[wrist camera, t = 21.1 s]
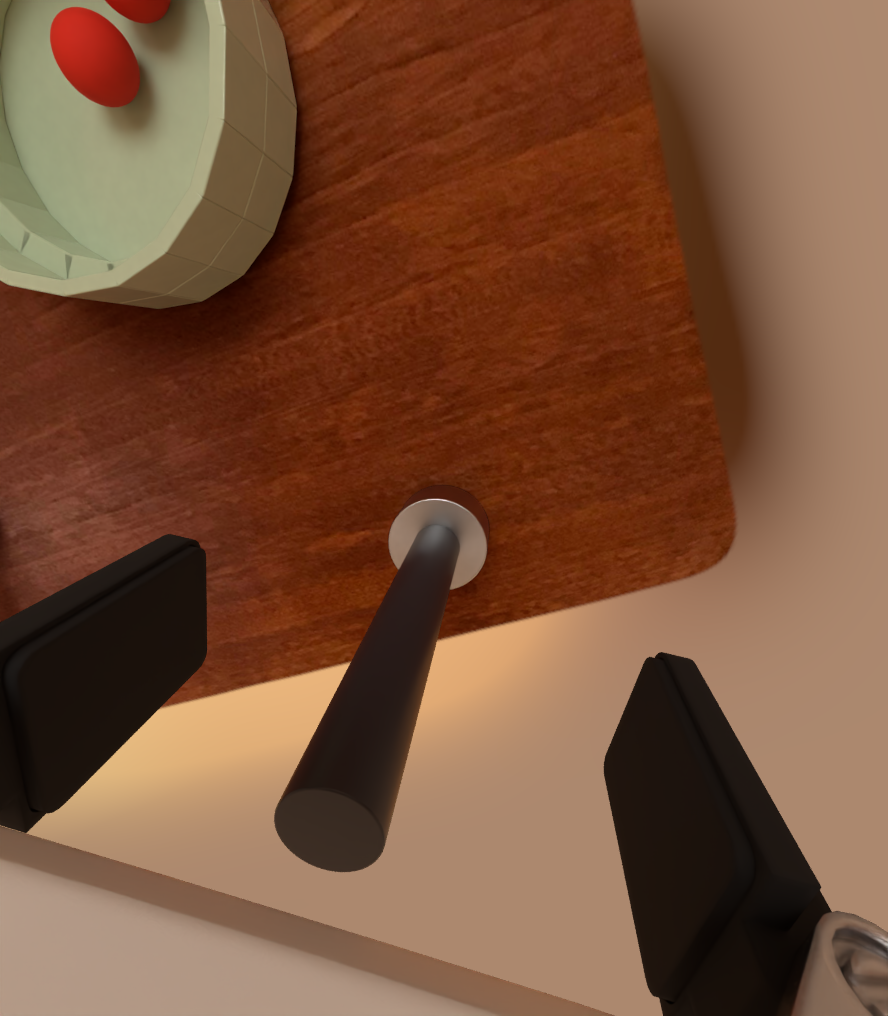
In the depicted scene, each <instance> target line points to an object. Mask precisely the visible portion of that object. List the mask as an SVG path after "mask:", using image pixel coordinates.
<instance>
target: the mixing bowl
mask: <svg viewBox="0 0 888 1016" xmlns="http://www.w3.org/2000/svg"><path fill="white" fill-rule="evenodd" d="M69 7H83V8H87V9H90V10H92V11H95V12H97V13H99V14H100V15H102V16H103V17H105V18H106V19H108V20H109V21H110V22H111V23H112V24H113V25H115V26H116V28H117V29H118V30H119V31H120V32H121V33H122V34H123V36H124V37H125V38H126V40H127V41H128V43H129V44H130V46H131V48H132V50H133V52H134V54H135V57H136V59H137V62H138V66H139V72H140V85H139V90H138V92H137V95H136V96H135V98H134V99H133V100H132V101H131V102H130V103H129V104H127V105H125V106H122V107H106V106H103V105H99V104H97V103H95V102H93V101H91V100H89V99H88V98H86V97H85V96H83V95H82V94H81V93H80V92H78V91H77V90H76V89H75V88H74V87H73V86H72V85H71V84H70V82H69V81H68V80H67V79H66V77H65V76H64V74H63V73H62V71H61V70H60V68H59V66H58V64H57V62H56V60H55V58H54V55H53V52H52V48H51V43H50V29H51V24H52V22H53V19H54V18H55V16H56V15H57V14H58V13H59V12H60V11H62V10H64V9H66V8H69ZM296 108H297V105H296V100H295V94H294V89H293V84H292V78H291V73H290V67H289V62H288V57H287V51H286V46H285V41H284V36H283V33H282V31H281V28H280V26H279V24H278V22H277V20H276V17H275V15H274V13H273V11H272V9H271V6H270V4H269V2H268V0H171V2H170V6H169V8H168V10H167V12H166V13H165V15H164V16H163V17H162V18H161V19H160V20H158V21H156V22H153V23H148V24H145V23H138V22H134V21H132V20H129V19H127V18H125V17H124V16H122V15H121V14H119V13H118V12H116V11H115V10H114V9H113V8H112V7H111V6H110V5H109V4H108V3H107V2H106V1H105V0H0V281H2V282H4V283H6V284H8V285H10V286H15V287H20V288H25V289H30V290H35V291H40V292H45V293H50V294H55V295H60V296H65V297H72V298H80V299H87V300H95V301H102V302H110V303H118V304H125V305H133V306H140V307H148V308H155V309H162V308H168V307H174V306H179V305H185V304H191V303H196V302H202V301H203V300H206V299H207V298H209V297H210V296H212V295H213V294H215V293H217V292H218V291H220V290H221V289H223V288H224V287H226V286H228V285H229V284H231V283H232V282H234V281H235V280H237V279H239V278H240V277H241V276H243V275H244V274H245V273H246V271H247V270H248V269H249V267H250V266H251V265H252V263H253V262H254V260H255V259H256V258H257V256H258V255H259V254H260V252H261V251H262V250H263V248H264V247H265V246H266V244H267V243H268V242H269V240H270V239H271V238H272V236H273V233H274V232H275V229H276V226H277V223H278V220H279V217H280V214H281V211H282V208H283V206H284V203H285V200H286V197H287V194H288V191H289V188H290V185H291V182H292V176H293V169H294V152H295V135H296V118H297V109H296Z"/></svg>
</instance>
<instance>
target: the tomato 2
mask: <svg viewBox="0 0 888 1016" xmlns="http://www.w3.org/2000/svg"><path fill="white" fill-rule="evenodd" d="M105 1H106V2H107V3H108V4H109V5H110V6H111V7H112V8H113V9H114V10H115V11H116V12H118V13H119V14H121V15H122V16H124V17H125V18H127V19H129V20H132V21H134V22H138V23H145V24H148V23H153V22H156V21H158V20H160V19H161V18H162V17H163V16H164V15H165V13H166V12H167V10H168V8H169V6H170V2H171V0H105Z"/></svg>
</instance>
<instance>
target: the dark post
mask: <svg viewBox="0 0 888 1016" xmlns="http://www.w3.org/2000/svg"><path fill="white" fill-rule="evenodd" d="M488 539H489V522H488V518H487V515H486V513H485V511H484V509H483V507H482V506H481V504H480V503H479V502H478V501H477V500H476V499H475V498H474V497H473V496H472V495H471V494H469V493H468V492H466V491H464V490H462V489H460V488H457V487H454V486H448V485H435V486H430V487H427V488H424V489H422V490H420V491H418V492H417V493H415V494H414V495H413V496H412V497H411V498H410V499H409V500H408V501H407V502H406V504H405V505H404V506H403V508H402V509H401V511H400V512H399V514H398V515H397V516H396V518H395V520H394V521H393V523H392V526H391V528H390V532H389V539H388V543H389V551H390V555H391V558H392V560H393V562H394V564H395V566H396V567H397V569H398V572H397V574H396V576H395V578H394V580H393V582H392V584H391V586H390V588H389V590H388V592H387V594H386V596H385V597H384V599H383V601H382V603H381V605H380V607H379V609H378V611H377V613H376V615H375V617H374V619H373V621H372V623H371V625H370V626H369V628H368V630H367V632H366V634H365V636H364V638H363V640H362V642H361V644H360V646H359V648H358V650H357V652H356V654H355V656H354V657H353V659H352V661H351V663H350V665H349V667H348V669H347V671H346V673H345V675H344V677H343V679H342V681H341V683H340V685H339V687H338V688H337V691H336V692H335V694H334V696H333V698H332V700H331V702H330V704H329V706H328V708H327V710H326V712H325V714H324V716H323V718H322V719H321V721H320V723H319V725H318V727H317V729H316V731H315V733H314V735H313V737H312V739H311V741H310V743H309V745H308V747H307V749H306V751H305V752H304V754H303V756H302V758H301V760H300V762H299V764H298V766H297V768H296V770H295V772H294V774H293V776H292V778H291V780H290V781H289V784H288V785H287V787H286V789H285V791H284V793H283V795H282V797H281V799H280V801H279V803H278V805H277V807H276V810H275V817H274V822H275V827H276V831H277V833H278V835H279V837H280V839H281V840H282V842H283V843H284V844H285V846H286V847H287V848H288V849H289V850H290V851H291V852H292V853H293V854H295V855H296V856H297V857H299V858H300V859H302V860H304V861H305V862H307V863H309V864H311V865H313V866H316V867H318V868H321V869H325V870H329V871H335V872H351V871H357V870H361V869H364V868H366V867H368V866H370V865H371V864H373V863H374V862H375V861H376V860H377V859H378V858H379V857H380V855H381V853H382V852H383V849H384V846H385V842H386V838H387V834H388V831H389V827H390V823H391V819H392V815H393V811H394V807H395V803H396V799H397V795H398V791H399V787H400V784H401V780H402V776H403V772H404V768H405V764H406V760H407V756H408V752H409V748H410V744H411V740H412V736H413V732H414V728H415V725H416V720H417V717H418V713H419V709H420V705H421V701H422V697H423V693H424V689H425V685H426V681H427V677H428V673H429V670H430V665H431V661H432V658H433V654H434V650H435V646H436V642H437V638H438V634H439V630H440V626H441V622H442V618H443V615H444V611H445V607H446V603H447V599H448V595H449V591H450V590H451V589H455V588H458V587H460V586H463V585H465V584H466V583H468V582H469V581H471V580H472V579H473V578H474V577H475V576H476V575H477V574H478V573H479V571H480V570H481V568H482V566H483V564H484V562H485V559H486V555H487V548H488Z"/></svg>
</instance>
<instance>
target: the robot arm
mask: <svg viewBox="0 0 888 1016" xmlns="http://www.w3.org/2000/svg"><path fill="white" fill-rule="evenodd" d="M206 654H207V601H206V553H205V551H204V550H203V549H201V548H200V545H199V543H198V542H197V541H196V540H193V539H189V538H184V537H180V536H176V535H171V534H167V535H164V536H162V537H160V538H159V539H157V540H155V541H153V542H151V543H149V544H147V545H145V546H143V547H142V548H140V549H138V550H136V551H134V552H132V553H130V554H128V555H127V556H125V557H123V558H121V559H119V560H117V561H115V562H113V563H111V564H110V565H108V566H106V567H104V568H102V569H100V570H98V571H96V572H94V573H93V574H91V575H89V576H87V577H85V578H83V579H81V580H79V581H77V582H76V583H74V584H72V585H70V586H68V587H66V588H64V589H62V590H60V591H59V592H57V593H55V594H53V595H51V596H49V597H47V598H45V599H44V600H42V601H40V602H38V603H36V604H34V605H32V606H30V607H28V608H27V609H25V610H23V611H21V612H19V613H17V614H15V615H13V616H11V617H10V618H8V619H6V620H4V621H2V622H0V825H1V826H0V1016H614V1015H611V1014H608V1013H605V1012H602V1011H599V1010H596V1009H593V1008H590V1007H587V1006H584V1005H581V1004H578V1003H575V1002H572V1001H568V1000H566V999H562V998H559V997H556V996H553V995H550V994H547V993H543V992H540V991H537V990H534V989H530V988H527V987H524V986H521V985H518V984H515V983H511V982H508V981H505V980H502V979H499V978H495V977H492V976H489V975H486V974H483V973H480V972H476V971H473V970H470V969H467V968H464V967H460V966H457V965H454V964H451V963H447V962H444V961H441V960H438V959H434V958H432V957H428V956H425V955H422V954H419V953H416V952H413V951H409V950H406V949H403V948H400V947H397V946H393V945H390V944H387V943H384V942H381V941H377V940H374V939H371V938H368V937H364V936H361V935H358V934H355V933H351V932H348V931H345V930H342V929H338V928H335V927H332V926H329V925H325V924H322V923H319V922H315V921H312V920H309V919H306V918H303V917H299V916H296V915H293V914H289V913H286V912H283V911H279V910H277V909H273V908H270V907H267V906H264V905H260V904H257V903H253V902H251V901H247V900H244V899H240V898H237V897H234V896H231V895H227V894H224V893H221V892H218V891H214V890H211V889H208V888H205V887H201V886H198V885H195V884H192V883H188V882H185V881H182V880H179V879H175V878H172V877H169V876H166V875H162V874H159V873H155V872H152V871H149V870H146V869H142V868H139V867H136V866H132V865H129V864H126V863H122V862H119V861H115V860H112V859H109V858H106V857H102V856H99V855H96V854H92V853H89V852H85V851H82V850H79V849H76V848H72V847H69V846H65V845H62V844H59V843H55V842H52V841H49V840H45V839H42V838H39V837H35V836H32V835H29V834H25V833H27V832H28V831H29V830H30V829H31V828H32V827H33V826H34V825H35V824H36V823H37V822H38V821H39V820H40V819H41V818H42V817H43V816H44V815H45V814H46V813H52V812H54V811H56V810H57V809H59V808H60V807H61V806H63V805H64V804H65V803H66V802H67V801H68V800H69V799H70V798H71V797H72V796H73V795H74V794H75V793H76V792H77V791H78V790H79V789H80V788H81V786H83V785H84V784H85V783H86V782H87V781H88V780H89V779H90V778H91V776H93V775H94V774H95V773H96V772H97V770H98V769H100V767H102V766H103V765H104V764H105V763H106V762H107V761H108V760H109V759H110V758H111V756H113V755H114V753H115V752H116V751H117V750H118V749H119V748H120V747H121V746H122V745H123V744H124V743H125V742H126V741H127V740H128V739H129V738H130V737H131V736H132V735H133V734H134V733H135V732H136V731H137V730H138V729H139V728H140V727H141V726H142V725H143V724H144V723H145V722H146V721H147V720H148V719H149V718H150V717H151V716H152V715H153V714H154V713H155V712H156V711H157V710H158V709H159V708H160V707H161V706H162V705H163V704H164V703H165V702H166V701H167V700H168V699H169V698H170V697H171V696H172V695H173V694H174V693H175V692H176V691H177V690H178V689H179V688H180V687H181V686H182V685H183V684H184V683H185V682H186V681H187V680H188V679H189V678H190V677H191V676H192V675H193V674H194V673H195V672H196V671H197V670H198V669H199V668H200V667H201V665H202V664H203V662H204V660H205V657H206ZM604 776H605V781H606V786H607V791H608V795H609V801H610V806H611V811H612V816H613V821H614V826H615V831H616V835H617V840H618V845H619V850H620V855H621V860H622V865H623V869H624V875H625V880H626V885H627V889H628V894H629V899H630V904H631V909H632V914H633V919H634V924H635V929H636V934H637V938H638V944H639V949H640V953H641V958H642V963H643V968H644V973H645V978H646V982H647V985H648V988H649V990H650V992H651V993H652V995H653V996H656V997H659V999H660V1003H661V1008H662V1012H663V1016H888V932H886V931H885V930H883V929H882V928H880V927H879V926H877V925H876V924H874V923H872V922H870V921H867V920H865V919H863V918H861V917H859V916H857V915H854V914H850V913H845V912H840V911H835V912H832V911H831V910H830V908H829V906H828V904H827V903H826V901H825V899H824V897H823V895H822V893H821V892H820V888H821V886H820V884H819V882H818V880H817V879H816V877H815V875H814V873H813V871H812V870H811V869H810V866H809V864H808V863H807V861H806V859H805V857H804V856H803V854H802V852H801V850H800V848H799V847H798V845H797V843H796V841H795V840H794V838H793V836H792V834H791V833H790V831H789V829H788V827H787V825H786V824H785V822H784V820H783V818H782V816H781V815H780V813H779V811H778V810H777V808H776V806H775V804H774V802H773V801H772V799H771V797H770V795H769V794H768V792H767V790H766V788H765V786H764V785H763V783H762V781H761V779H760V777H759V776H758V774H757V772H756V771H755V769H754V767H753V765H752V763H751V762H750V760H749V758H748V756H747V754H746V753H745V751H744V749H743V747H742V746H741V744H740V742H739V741H738V739H737V737H736V735H735V733H734V731H733V730H732V728H731V726H730V724H729V723H728V721H727V719H726V717H725V716H724V714H723V712H722V710H721V708H720V707H719V705H718V703H717V701H716V699H715V698H714V696H713V694H712V692H711V691H710V689H709V687H708V686H707V684H706V682H705V680H704V678H703V677H702V675H701V673H700V671H699V669H698V668H697V666H696V664H695V663H694V661H693V660H691V659H688V658H684V657H680V656H675V655H671V654H667V653H663V652H661V653H658V654H657V655H656V656H655V658H652V657H649V658H647V659H646V660H645V662H644V664H643V667H642V669H641V672H640V674H639V676H638V679H637V681H636V683H635V686H634V688H633V691H632V693H631V695H630V698H629V700H628V703H627V705H626V707H625V710H624V712H623V715H622V717H621V720H620V722H619V724H618V727H617V729H616V732H615V734H614V736H613V739H612V741H611V744H610V746H609V748H608V751H607V753H606V756H605V761H604ZM2 826H5V827H8V828H5V827H2ZM9 828H11V829H9ZM12 829H14V830H12ZM15 830H17V831H15ZM19 831H21V832H19ZM22 832H24V833H22Z"/></svg>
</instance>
